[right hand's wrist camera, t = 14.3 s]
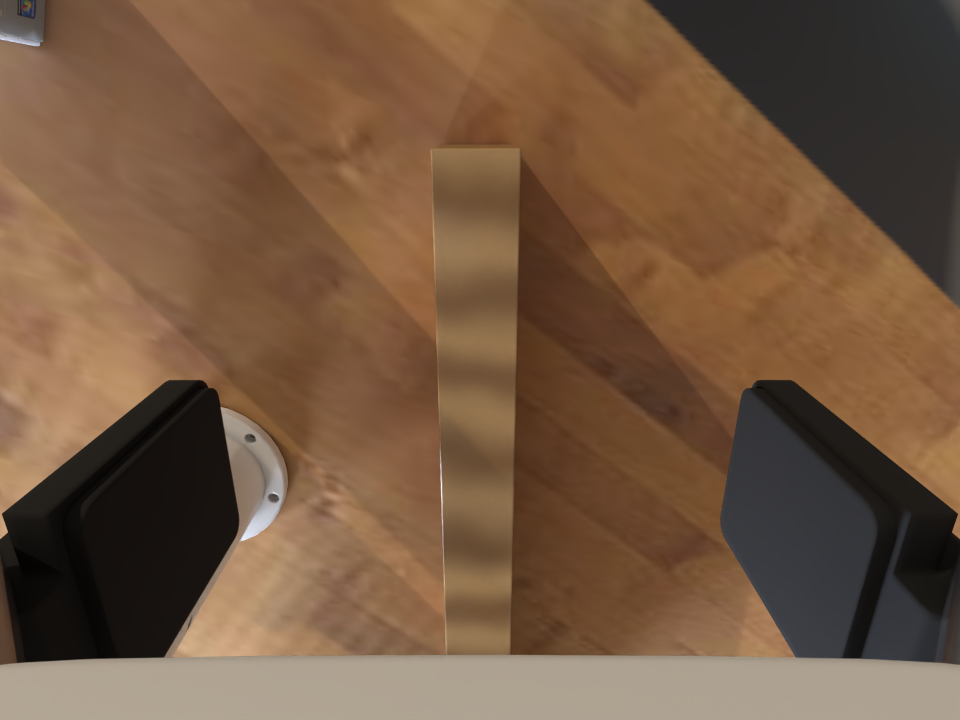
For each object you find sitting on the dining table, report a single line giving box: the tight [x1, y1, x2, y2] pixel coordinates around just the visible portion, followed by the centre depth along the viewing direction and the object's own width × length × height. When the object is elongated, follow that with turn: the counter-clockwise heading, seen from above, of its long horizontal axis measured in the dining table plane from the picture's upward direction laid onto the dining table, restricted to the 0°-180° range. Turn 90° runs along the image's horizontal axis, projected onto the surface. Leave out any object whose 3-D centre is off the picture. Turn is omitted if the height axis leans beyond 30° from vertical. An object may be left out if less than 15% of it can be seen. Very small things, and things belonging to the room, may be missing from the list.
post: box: [431, 144, 521, 655], centre depth 47 cm, size 60×5×9 cm, turn 0°
